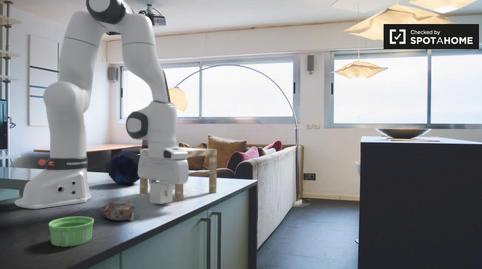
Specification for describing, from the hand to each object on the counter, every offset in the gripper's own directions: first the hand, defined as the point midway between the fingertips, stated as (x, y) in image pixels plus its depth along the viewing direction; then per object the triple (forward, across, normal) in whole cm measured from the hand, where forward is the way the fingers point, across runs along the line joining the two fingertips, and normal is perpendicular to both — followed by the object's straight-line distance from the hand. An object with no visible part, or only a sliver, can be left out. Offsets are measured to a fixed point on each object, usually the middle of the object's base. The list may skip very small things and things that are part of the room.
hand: (161, 194), depth 115 cm
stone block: (+2, 0, 0) cm, 2 cm away
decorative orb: (+4, -41, +17) cm, 45 cm away
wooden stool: (+3, -10, +18) cm, 21 cm away
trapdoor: (-12, -11, +17) cm, 24 cm away
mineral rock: (+4, +2, -18) cm, 18 cm away
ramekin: (+4, +12, -36) cm, 38 cm away
